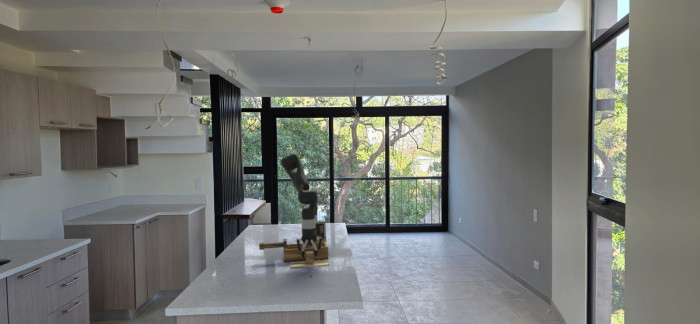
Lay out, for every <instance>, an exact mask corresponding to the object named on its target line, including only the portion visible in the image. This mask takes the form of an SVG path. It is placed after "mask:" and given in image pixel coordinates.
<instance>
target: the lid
mask: <svg viewBox="0 0 700 324" xmlns="http://www.w3.org/2000/svg"><path fill="white" fill-rule="evenodd" d="M305 253H306V261H296V262H289V266H290V269H302V268H303V269H304V268H312V267H313V268H314V267H326V266H328V267H329V266H330V262H329V258H328V259H322V260H314V259H313V251H309V252H305Z"/></svg>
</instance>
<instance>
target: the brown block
mask: <svg viewBox="0 0 700 324" xmlns="http://www.w3.org/2000/svg"><path fill="white" fill-rule="evenodd" d="M258 245H259V246H258V250H261V251H262V250H265V249H277V248H283V241H279V242H278V241H277V242H266V243H265V242H259V244H258Z"/></svg>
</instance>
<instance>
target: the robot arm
mask: <svg viewBox="0 0 700 324" xmlns="http://www.w3.org/2000/svg"><path fill="white" fill-rule="evenodd" d="M280 162H281V163H280V164H281V166H282V167H283V169H284V171H285V172H286V175H288V177H289V178H290V181H291V184H292V185H293V187H294V188H295V190H296V191H297V201H298V203H300V204H302V205H305V206H306V207H303V208H301V238H296V240H295V241H296V244H297V246H298V250H300V251H301V252H302V257H303V258H304V249H305V247H306V246H308V245H313V247H314V248H315V250H314V252H315V257H316V256H317V250H318V249H320V248H321V241H322V239H321V237H319V238H317V237H316V224H315V222H319V221H318V204H319V203H318V201H319V200H318V199H319V198H318V197H319V196H318V193H317V191H316V190H315V189H310V188H311V186H310V184H309V181H308V179H307V176H306V173H305V170H304V167H303V163H302V161H301V158H300V156H299V154H297V152H292V153H290V154H288V155H286V156H284V157H282V158H281V161H280ZM307 205H308V206H307ZM316 240H318V242H319V243H318V247H316V245H315V241H316ZM299 243H304V244H303V246H302V248H300V244H299Z"/></svg>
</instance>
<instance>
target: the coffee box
mask: <svg viewBox="0 0 700 324" xmlns="http://www.w3.org/2000/svg"><path fill="white" fill-rule="evenodd" d="M315 224H316V237H317V238H319V237H321V239H322V241H321V242H326V243H327V228H326V227H327V223H326V221H318V222H315ZM315 242H318V240H316V241H315Z"/></svg>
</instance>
